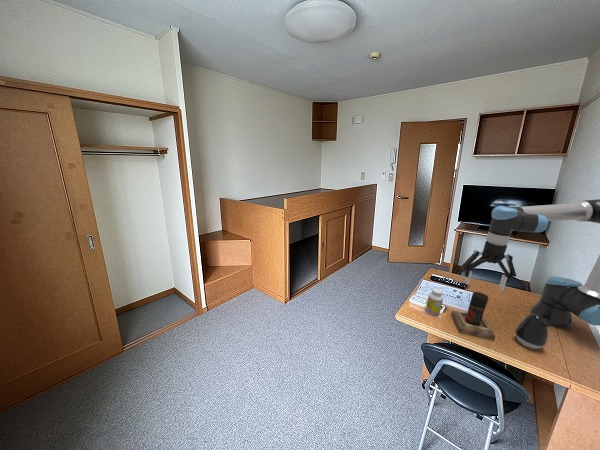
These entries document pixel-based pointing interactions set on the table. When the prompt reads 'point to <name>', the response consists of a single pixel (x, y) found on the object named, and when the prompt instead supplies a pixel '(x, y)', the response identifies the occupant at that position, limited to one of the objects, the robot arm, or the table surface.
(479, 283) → the table surface
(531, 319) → the black rounded dome
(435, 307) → the supplement bottle
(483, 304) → the deodorant
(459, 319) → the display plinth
